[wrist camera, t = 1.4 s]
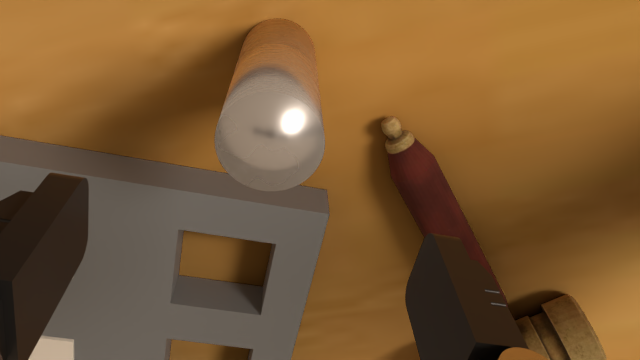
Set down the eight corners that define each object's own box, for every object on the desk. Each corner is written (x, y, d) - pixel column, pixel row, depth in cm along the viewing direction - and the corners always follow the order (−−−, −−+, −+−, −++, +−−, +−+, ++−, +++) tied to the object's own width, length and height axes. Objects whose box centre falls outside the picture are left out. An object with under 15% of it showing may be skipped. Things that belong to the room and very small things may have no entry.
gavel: (301, 180, 26) (491, 84, 24) (303, 145, 30) (466, 60, 28) (463, 434, 34) (616, 378, 32) (447, 379, 39) (582, 326, 36)
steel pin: (322, 26, 26) (335, 103, 17) (307, 96, 27) (312, 198, 19) (247, 11, 25) (221, 81, 16) (236, 83, 27) (208, 182, 18)
